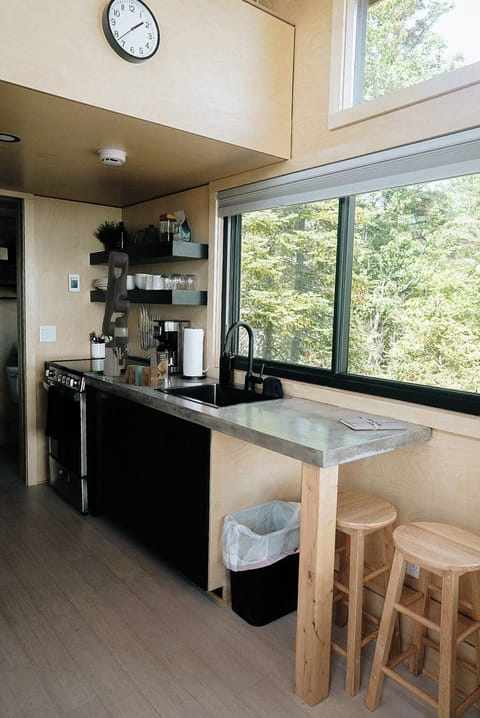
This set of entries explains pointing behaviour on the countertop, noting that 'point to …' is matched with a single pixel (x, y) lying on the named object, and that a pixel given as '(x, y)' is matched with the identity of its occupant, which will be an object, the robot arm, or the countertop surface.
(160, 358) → the coffee box
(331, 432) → the countertop surface
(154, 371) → the domino
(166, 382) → the countertop surface
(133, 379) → the domino
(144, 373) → the domino
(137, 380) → the domino
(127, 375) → the domino
